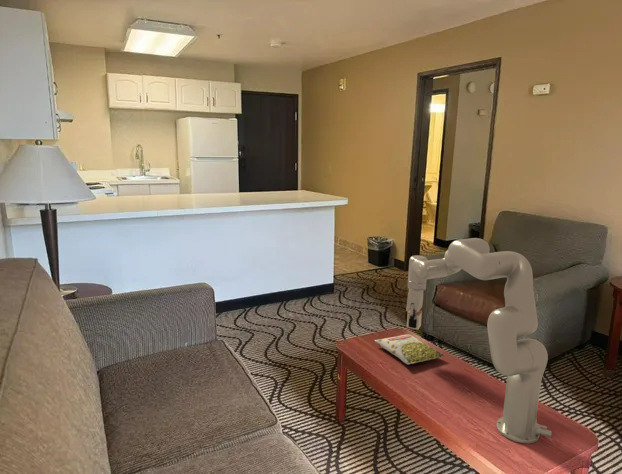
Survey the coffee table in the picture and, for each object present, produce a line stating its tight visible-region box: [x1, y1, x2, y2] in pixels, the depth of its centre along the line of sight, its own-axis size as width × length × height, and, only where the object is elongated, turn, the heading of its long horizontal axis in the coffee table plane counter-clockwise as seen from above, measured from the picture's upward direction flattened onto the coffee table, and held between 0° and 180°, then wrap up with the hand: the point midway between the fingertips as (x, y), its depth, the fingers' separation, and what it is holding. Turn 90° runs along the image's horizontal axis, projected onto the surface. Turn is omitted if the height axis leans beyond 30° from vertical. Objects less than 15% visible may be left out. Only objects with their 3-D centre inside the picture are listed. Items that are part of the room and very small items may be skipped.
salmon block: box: [406, 309, 423, 331], centre depth 182 cm, size 5×5×7 cm
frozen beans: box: [374, 333, 445, 365], centre depth 189 cm, size 21×6×25 cm
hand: (414, 324), depth 183 cm, fingers closed on salmon block, 5 cm apart
